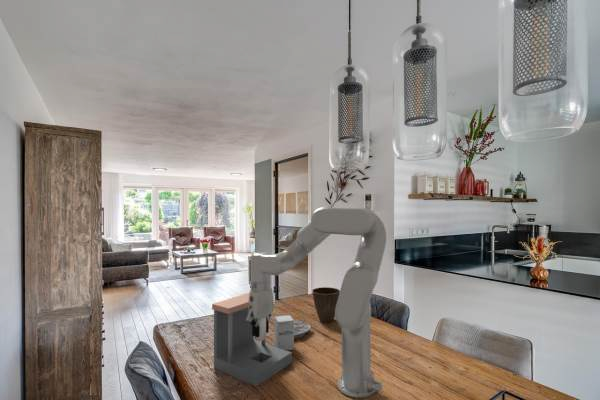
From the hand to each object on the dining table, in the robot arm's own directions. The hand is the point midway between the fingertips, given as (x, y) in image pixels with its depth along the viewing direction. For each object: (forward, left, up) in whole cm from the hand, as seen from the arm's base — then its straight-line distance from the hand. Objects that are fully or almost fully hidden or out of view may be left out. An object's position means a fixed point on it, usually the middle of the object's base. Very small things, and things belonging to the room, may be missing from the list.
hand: (260, 333), depth 118 cm
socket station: (+4, 0, -13) cm, 14 cm away
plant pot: (+6, -58, -13) cm, 60 cm away
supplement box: (+4, -19, -13) cm, 23 cm away
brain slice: (+11, -35, -13) cm, 39 cm away
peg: (0, 0, -2) cm, 2 cm away
